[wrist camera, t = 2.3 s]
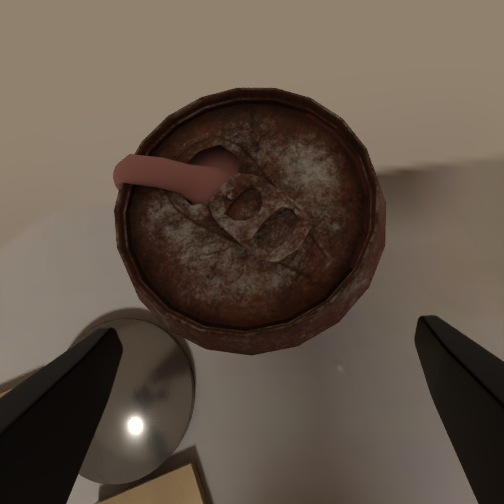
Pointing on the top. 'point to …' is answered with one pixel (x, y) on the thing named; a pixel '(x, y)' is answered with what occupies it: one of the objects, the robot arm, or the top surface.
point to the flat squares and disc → (145, 419)
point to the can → (250, 220)
